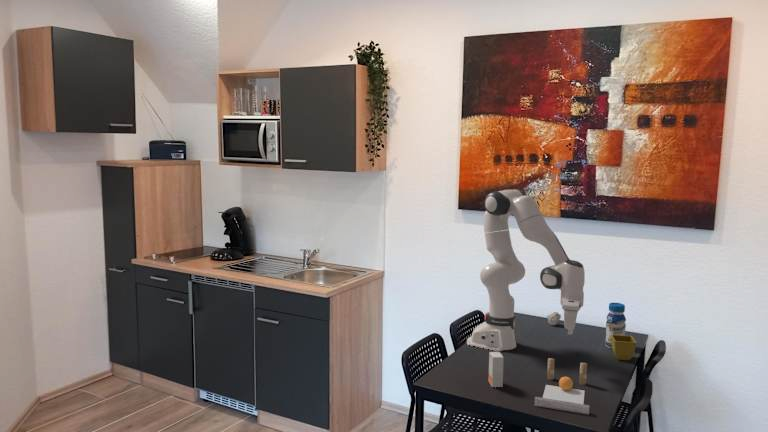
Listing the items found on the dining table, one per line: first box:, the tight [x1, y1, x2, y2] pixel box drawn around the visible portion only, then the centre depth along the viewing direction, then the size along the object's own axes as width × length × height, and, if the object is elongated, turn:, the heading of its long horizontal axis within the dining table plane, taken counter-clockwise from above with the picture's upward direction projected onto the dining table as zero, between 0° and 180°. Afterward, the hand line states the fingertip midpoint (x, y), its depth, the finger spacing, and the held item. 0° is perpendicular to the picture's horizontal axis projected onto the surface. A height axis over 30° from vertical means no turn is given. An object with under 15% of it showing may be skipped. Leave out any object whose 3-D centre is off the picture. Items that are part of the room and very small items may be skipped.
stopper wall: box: [533, 396, 590, 415], centre depth 197 cm, size 18×2×2 cm, turn 69°
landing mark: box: [542, 384, 586, 405], centre depth 209 cm, size 14×14×1 cm
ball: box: [558, 376, 574, 391], centre depth 213 cm, size 5×5×5 cm
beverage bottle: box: [604, 302, 627, 349], centre depth 261 cm, size 8×8×20 cm
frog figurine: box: [546, 311, 562, 326], centre depth 294 cm, size 6×7×7 cm
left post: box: [546, 357, 555, 381], centre depth 223 cm, size 2×2×8 cm
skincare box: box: [488, 351, 504, 389], centre depth 217 cm, size 6×4×12 cm
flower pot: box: [611, 335, 637, 361], centre depth 247 cm, size 9×9×9 cm
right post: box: [578, 362, 588, 386], centre depth 219 cm, size 2×2×8 cm
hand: (570, 333), depth 232 cm, fingers closed
